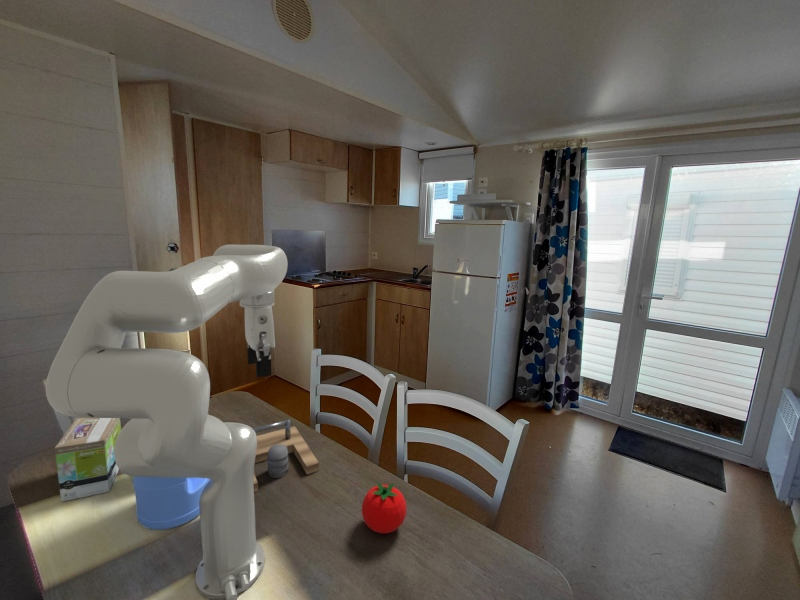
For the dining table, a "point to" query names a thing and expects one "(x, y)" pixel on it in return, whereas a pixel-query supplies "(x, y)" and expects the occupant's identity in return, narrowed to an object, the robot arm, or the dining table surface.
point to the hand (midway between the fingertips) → (259, 369)
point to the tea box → (87, 457)
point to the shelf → (293, 445)
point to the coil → (277, 461)
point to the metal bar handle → (275, 425)
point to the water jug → (167, 500)
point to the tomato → (384, 508)
